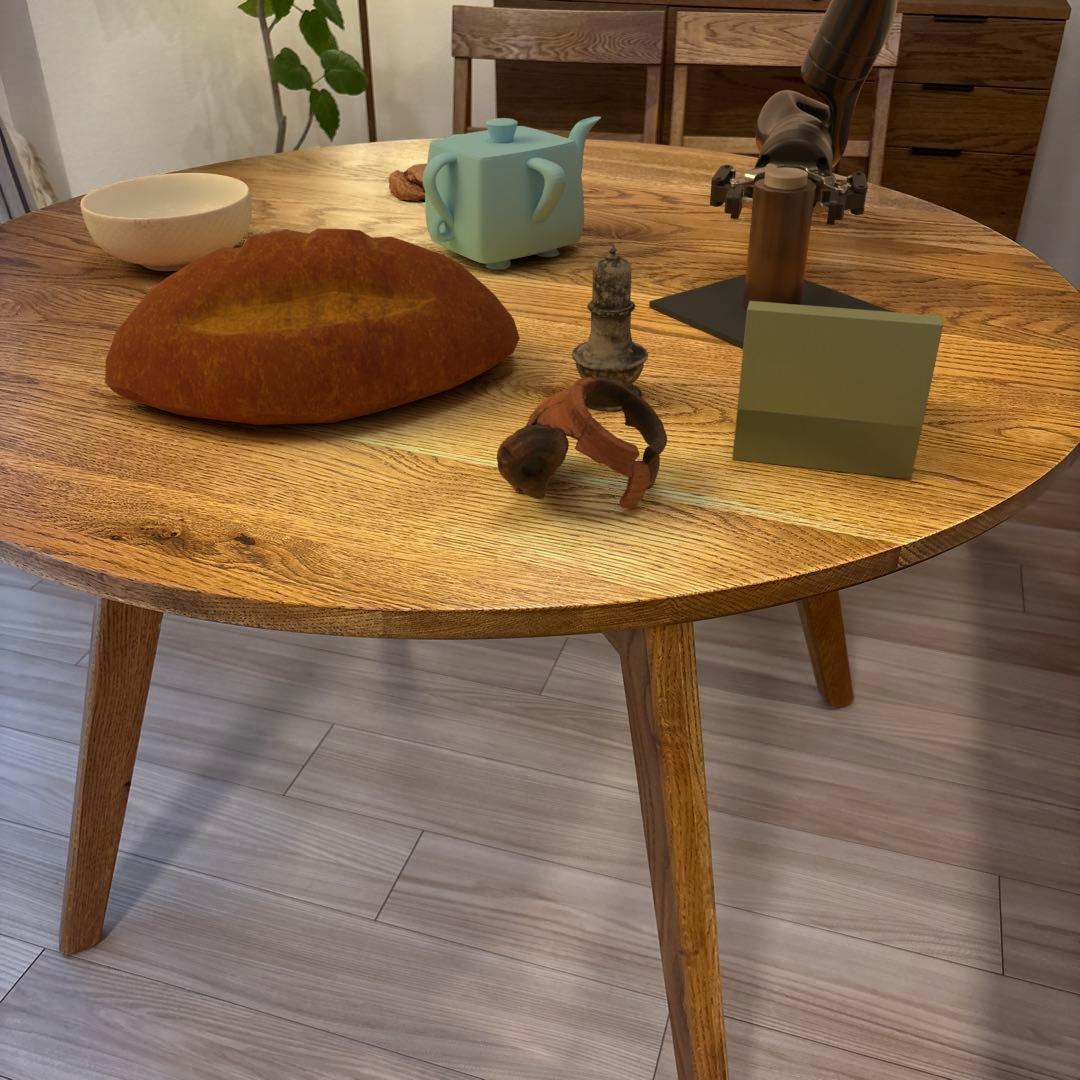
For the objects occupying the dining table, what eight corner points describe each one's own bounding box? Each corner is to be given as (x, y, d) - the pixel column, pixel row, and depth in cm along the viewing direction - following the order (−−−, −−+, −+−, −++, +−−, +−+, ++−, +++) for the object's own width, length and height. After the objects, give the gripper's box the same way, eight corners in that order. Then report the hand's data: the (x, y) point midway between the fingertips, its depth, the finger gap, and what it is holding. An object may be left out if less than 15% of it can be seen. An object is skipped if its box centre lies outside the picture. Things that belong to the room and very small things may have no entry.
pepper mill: (771, 292, 99) (785, 162, 92) (812, 308, 95) (830, 173, 89) (731, 304, 96) (743, 171, 90) (771, 321, 93) (787, 183, 86)
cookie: (468, 202, 128) (467, 177, 127) (383, 203, 129) (381, 178, 127) (474, 181, 137) (473, 158, 135) (394, 182, 137) (392, 158, 135)
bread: (543, 420, 78) (541, 258, 72) (89, 462, 74) (41, 293, 67) (502, 319, 96) (498, 181, 89) (133, 348, 91) (98, 204, 84)
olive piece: (748, 388, 82) (763, 251, 76) (906, 404, 80) (934, 263, 74) (732, 459, 73) (747, 309, 67) (911, 479, 70) (943, 325, 64)
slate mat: (770, 272, 105) (770, 267, 105) (898, 319, 94) (899, 313, 94) (648, 307, 98) (649, 301, 97) (772, 362, 87) (773, 355, 86)
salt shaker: (558, 389, 83) (557, 239, 76) (621, 374, 85) (626, 227, 78) (594, 418, 78) (597, 262, 72) (660, 402, 81) (669, 249, 74)
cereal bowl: (61, 278, 107) (42, 209, 103) (157, 231, 120) (143, 168, 116) (205, 293, 103) (191, 221, 99) (288, 242, 116) (278, 177, 112)
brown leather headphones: (559, 442, 76) (618, 358, 71) (638, 537, 73) (706, 456, 68) (440, 463, 67) (498, 369, 63) (525, 573, 64) (593, 482, 59)
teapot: (560, 283, 104) (561, 142, 96) (406, 271, 107) (395, 134, 100) (599, 230, 118) (602, 104, 111) (462, 221, 122) (456, 98, 115)
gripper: (727, 124, 106) (706, 163, 93) (872, 131, 102) (872, 171, 89) (720, 199, 110) (700, 246, 97) (860, 207, 107) (859, 257, 94)
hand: (783, 210), depth 93 cm, fingers open, 8 cm apart
